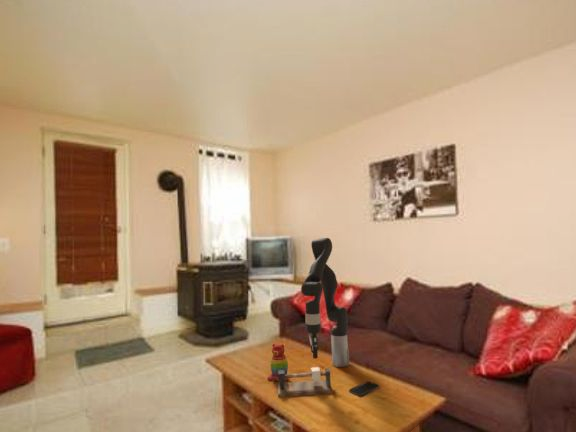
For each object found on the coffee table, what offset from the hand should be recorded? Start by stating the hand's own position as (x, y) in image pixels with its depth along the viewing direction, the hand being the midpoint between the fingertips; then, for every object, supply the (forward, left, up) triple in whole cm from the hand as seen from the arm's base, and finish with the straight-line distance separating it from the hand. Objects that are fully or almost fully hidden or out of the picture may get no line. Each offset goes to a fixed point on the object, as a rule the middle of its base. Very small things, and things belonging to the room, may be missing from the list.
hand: (314, 355), depth 174 cm
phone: (-23, +4, -17) cm, 29 cm away
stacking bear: (+18, -16, -17) cm, 29 cm away
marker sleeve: (0, 0, -12) cm, 12 cm away
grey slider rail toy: (+6, 0, -16) cm, 17 cm away
